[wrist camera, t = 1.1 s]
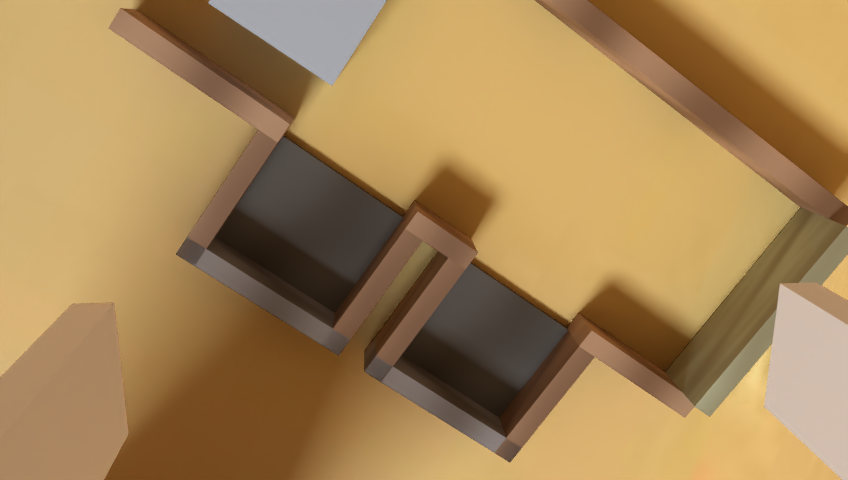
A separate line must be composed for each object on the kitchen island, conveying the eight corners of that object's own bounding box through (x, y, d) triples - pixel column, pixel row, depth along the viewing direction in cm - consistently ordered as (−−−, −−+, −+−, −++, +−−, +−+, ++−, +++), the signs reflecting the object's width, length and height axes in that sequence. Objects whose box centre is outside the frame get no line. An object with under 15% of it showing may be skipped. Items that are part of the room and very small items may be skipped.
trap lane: (49, 153, 37) (12, 167, 33) (282, -228, 34) (271, -261, 30) (587, 491, 44) (608, 536, 40) (827, 202, 41) (875, 220, 37)
